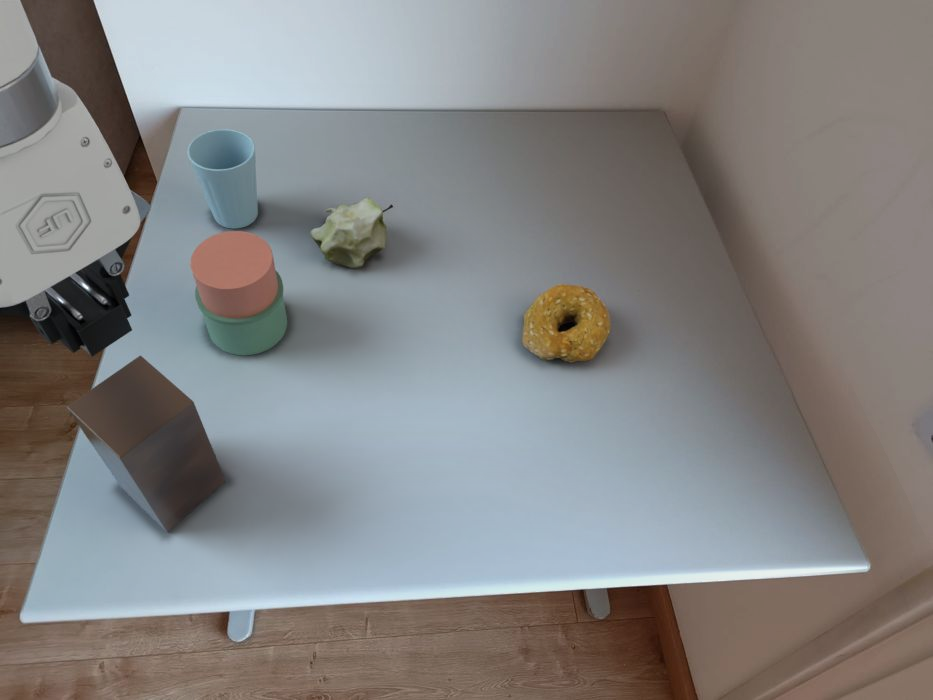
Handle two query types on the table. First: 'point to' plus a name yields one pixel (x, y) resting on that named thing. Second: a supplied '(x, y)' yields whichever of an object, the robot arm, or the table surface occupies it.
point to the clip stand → (150, 441)
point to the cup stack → (239, 292)
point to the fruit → (352, 233)
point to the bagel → (564, 308)
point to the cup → (227, 175)
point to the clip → (89, 312)
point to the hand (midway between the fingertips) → (89, 321)
